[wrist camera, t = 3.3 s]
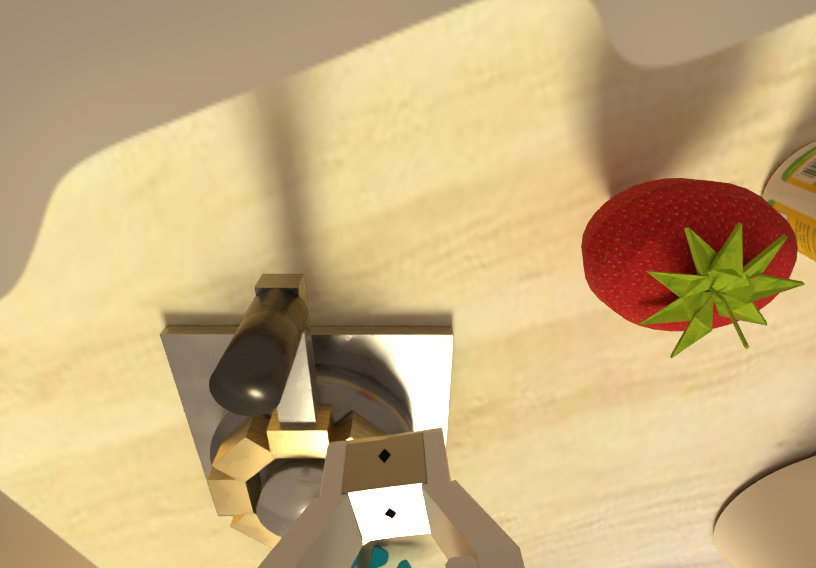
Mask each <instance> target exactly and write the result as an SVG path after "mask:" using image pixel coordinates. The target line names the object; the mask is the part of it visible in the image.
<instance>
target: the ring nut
mask: <svg viewBox="0 0 816 568" xmlns="http://www.w3.org/2000/svg"><path fill="white" fill-rule="evenodd" d="M255 293H256V297H255V298H254V300H253V302H252V304H251V305H250V307H249V309H248V311H247V313H246V314H245V316H244V318H243V320H242V322H241V323H240V325H239V327H238V329H237V330H236V332H235V334H234V336H233V338H232V339H231V341H230V343H229V345H228V347H227V348H226V350H225V352H224V354H223V356H222V357H221V359H220V361H219V363H218V364H217V366H216V368H215V370H214V372H213V373H212V375H211V377H210V380H209V390H210V393H211V395H212V397H213V398H214V400H215V401H216V402H217V403H218V404H219V405H220V406H221V407H223V408H224V409H226V410H228V411H230V412H232V413H234V414H238V415H242V416H249V417H248V418H247V419H246V420H245V421H243V422H242V423H241V424H240V425H239V426H238V427H236V428H235V429H234V430H233V431H232V432H231V433H230V434H228V435H227V436H226V437H225V438H224V439H223V441H222V443H221V446H220V448H219V450H218V452H217V455H216V457H215V459H214V461H213V464H212V466H213V468H212V470H211V472H210V475H209V477H208V479H207V481H208V484H209V487H210V490H211V494H212V497H213V500H214V503H215V506H216V509H217V512H218V515H234V517H233V520H232V523H231V526H230V527H232V528H234V529H236V530H238V531H240V532H242V533H244V534H246V535H247V536H249V537H251V538H253V539H255V540H257V541H259V542H261V543H263V544H265V545H267V546H269V547H271V548H273V547H274V546H276V544H277V543H278V542H279V541H280V539H281V538H282V537H279V536H277V535H275V534H273V533H272V532H270V531H269V530H267V529H266V528H265V527H264V526H263V525H262V524H261V522H260V521H259V519H258V517H257V512H256V508H257V504H258V501H259V497H260V494H261V491H262V488H263V485H262V483H261V479H260V474H259V471H260V470H261V469H262V468H264V467H265V466H266V465H268V464H269V463H270V462H271V461H273V460H274V459H275V458H325V457H326V451H327V447H328V445H329V443H330V442H336V441H345V440H351V439H360V438H370V437H379V436H386V435H388V434H386V433H385V432H383V431H382V430H380V429H379V428H378V427H376V426H375V425H373V424H372V423H370V422H369V421H367V420H366V419H365V418H363V417H362V416H360V415H359V414H357V413H356V412H355V411H353V412H352V413H350V414H349V415H348V416H347V417H345V418H344V419H343V420H341V421H340V422H339V423H337V424H336V425H335V426H334V417H333V407H332V405H326V404H319V396H318V388H317V380H316V371H315V363H314V355H313V346H312V338H311V330H310V321H309V313H308V304H307V296H306V288H305V279H304V274H262V276H261V277H260V279H259V281H258V283H257V284H256V286H255ZM271 411H273V413H272V416H271V419H270V420H269V419H268V418H266V417H265V416H263V415H265V414H267V413H269V412H271ZM368 542H369V541H364V542H363V545H364V544H366V543H368Z"/></svg>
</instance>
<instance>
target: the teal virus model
mask: <svg viewBox="0 0 816 568" xmlns="http://www.w3.org/2000/svg"><path fill="white" fill-rule="evenodd" d="M358 557H359V553H358V555H357V557H356V559H355V560H354V562H353V564H352V566H351V568H353V567H354V566H355V565H356V563H357V561H358ZM387 561H388V552H387V551H386V550H385V549H383V548H382V547H380V546H375V547H374V548H373V550H372V558H371V562H370V565H369V567H368V568H377V567H380V566H383V565H385V564H386V562H387ZM397 568H411V566H410V564H409V563H408V561H407V560H403V561H401V562H400V563H399V565H398V567H397Z"/></svg>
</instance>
